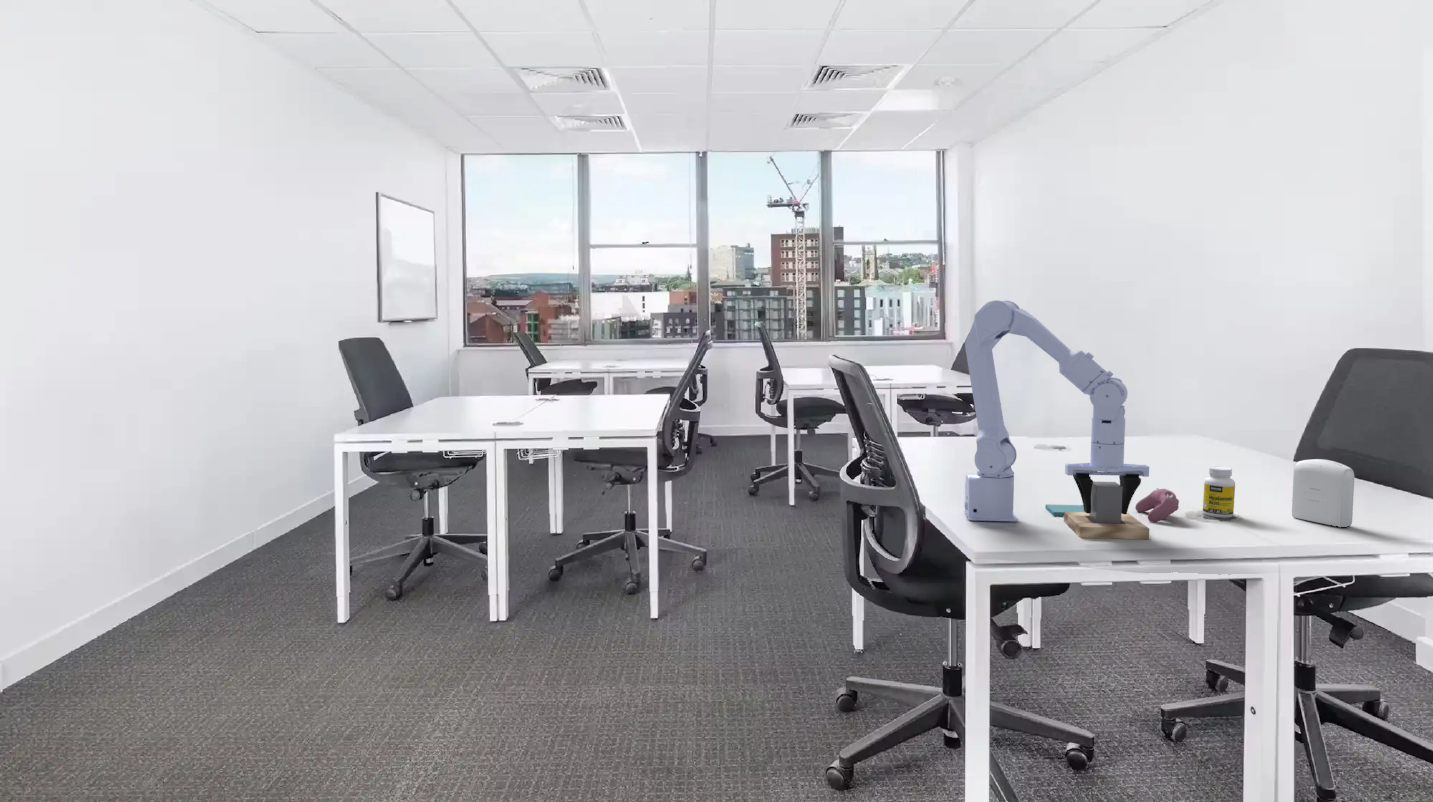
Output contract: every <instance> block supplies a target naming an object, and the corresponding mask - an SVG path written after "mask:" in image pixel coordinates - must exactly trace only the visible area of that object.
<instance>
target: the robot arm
mask: <svg viewBox="0 0 1433 802" xmlns="http://www.w3.org/2000/svg"><path fill="white" fill-rule="evenodd" d="M1007 334H1010V335H1017V336H1022V337H1026V338H1027V339H1029V341H1031V342H1032V343H1033V344H1035V345H1036V346H1038V347H1039V348H1040V349H1041V350H1043V352H1045V353H1046V354H1047V355H1049V356H1050V357H1051V358H1052V359H1053V360H1055V361H1056V362H1057V363H1058V365H1059V367H1058V369H1059V373H1060V374H1061V375H1062V376H1063V377H1064V378H1065V379H1066V380H1068V381H1069V382H1070V383H1071V384H1072V385H1074V386H1075V387H1076V388H1077V389H1078V390H1079V391H1081V392H1082V393H1083V394H1084V395H1088V396H1089V400H1090V403H1091V404H1092V406H1093V409H1092V410H1093V412H1092V418H1091V436H1090V438H1091V440H1090V462H1080V463H1065V465H1064V466H1065V467H1064V469H1065V470H1064V472H1065V473H1064V474H1065V475H1066V476H1072V477H1073V480H1074V482H1075V484H1076V486H1077V488H1078V490H1079V491H1078V492H1079V494H1080V497H1081V500H1082V505H1083V507H1084V511H1085V512H1086V513H1091V491H1092V484H1093V482H1094V481H1093V479H1092V477H1091V475H1092V476H1119V477H1118V478H1119V485H1121V486H1122V487H1123V488H1122V514H1127V513H1128V510H1129V507H1130V503H1131V501H1132V498H1133V496H1134V495H1135V493H1136V491H1137V489H1138V488H1139V487H1140V485H1141V483H1142V478H1141V477H1145V478H1147V477H1149V476H1150V466H1149V465H1146V464H1133V463H1124V462H1125V459H1124V458H1125V435H1126V418H1125V414H1126V408H1125V405H1123V404H1125V402H1127V398H1128V389H1127V386H1126V385H1125V384H1124V382H1123V381H1122V380H1121V379H1120V378H1117V377H1112V376H1114V373H1113V372H1112V371H1111V370H1108V371H1107V370H1105V369H1104V367H1102V366H1101V365H1100V364H1098V363H1097V362H1096V361H1095V360H1093V358H1094V356H1095V355H1093V354H1092V353H1091V352H1084V351H1083V350H1081V349H1079V350H1072V349H1070V348H1069V347H1068V346H1067V345H1066V344H1064V343H1063V342H1062V341H1061V340H1060V339H1059V338H1058V337H1057V336H1056V335H1055V334H1053V332H1051V331H1050V329H1048V328H1047V327H1046V326H1045V325H1044V324H1043V323H1042V322H1040V321H1039V320H1038V319H1037V318H1036V316H1033V314H1031V313H1029V311H1027V310H1025V309H1023V308H1020V306H1019V305H1017V303H1015V302H1013V301H1011V300H999V299H997V300H991V301H987V302H986V303H985V304H984V305H983V306H982V307H981V308H980V309H979V310H978V311H977V312H976V313H975V314H974V319H973V322H972V325H971V327H970V330H969V332H968V335H967V338H966V340H965V342H964V347H965V355H966V361H967V367H968V374H969V379H970V387H971V391H972V397H973V403H974V409H975V415H976V423H977V429H978V431H977V436H976V440H975V441H976V442H975V443H976V452H975V455H974V465H975V467H976V468H977V470H976V473H973V474H971V473H969V474H966V475H965V484H964V487H965V489H964V491H965V492H964V494H965V495H964V511H963V512H964V513H965V515H966V517H967V519H968V520H969V521H978V522H979V521H981V522H983V521H984V522H987V521H988V522H1019V518H1018V517H1017V516H1016V515H1015V513H1014V498H1015V497H1014V495H1015V493H1014V491H1015V488H1014V487H1015V472H1014V471H1013V469H1012V466H1013V465H1014V464H1015V462H1016V460H1017V456H1018V455H1017V450H1016V447H1015V446H1014V444H1013V443H1012V442H1011V439H1010V434H1009V432H1008V429H1007V428H1006V426H1005V424H1004V423H1005V421H1004V417H1003V409H1002V404H1001V397H1000V392H999V391H1000V390H999V385H998V379H997V374H996V365H995V360H994V355H993V354H994V353H993V349H994V348H995V347H996V345H998V343H999V342H1000V341H1001V340H1002V338H1003V337H1005V336H1006V335H1007Z"/></svg>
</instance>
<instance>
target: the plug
mask: <svg viewBox="0 0 1433 802" xmlns="http://www.w3.org/2000/svg"><path fill="white" fill-rule="evenodd" d="M1122 488H1123V487H1122V486H1121V485H1120V483H1117V482H1116V481H1093V484H1092V491H1091V513H1089V520H1090V521H1091V522H1092V523H1103V524H1121V514H1122Z"/></svg>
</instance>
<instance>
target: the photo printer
mask: <svg viewBox="0 0 1433 802" xmlns="http://www.w3.org/2000/svg"><path fill="white" fill-rule="evenodd" d="M1292 477H1293V480H1292V498H1291V502H1292V504H1291V516H1292V517H1293V518H1294V519H1299V520H1303V521H1308V522H1313V523H1318V524H1324V525H1327V526H1331V525H1332V526H1333V527H1336V526H1338V527H1337V528H1341V527H1347V526H1350V527H1351V525H1352V524H1353V516H1354V515H1353V514H1354V513H1353V510H1354V495H1355V472H1354V470H1353V469H1352V467H1349V466H1347V465H1346V464H1343V463H1340V462H1337V461H1333V460H1329V459H1321V458H1315V459H1314V458H1313V459H1303V460H1300V461H1297V462H1296V463H1295V465H1294V469H1293V476H1292ZM1347 528H1348V527H1347Z"/></svg>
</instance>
